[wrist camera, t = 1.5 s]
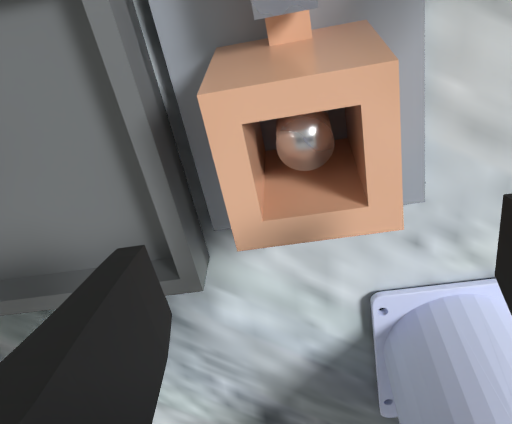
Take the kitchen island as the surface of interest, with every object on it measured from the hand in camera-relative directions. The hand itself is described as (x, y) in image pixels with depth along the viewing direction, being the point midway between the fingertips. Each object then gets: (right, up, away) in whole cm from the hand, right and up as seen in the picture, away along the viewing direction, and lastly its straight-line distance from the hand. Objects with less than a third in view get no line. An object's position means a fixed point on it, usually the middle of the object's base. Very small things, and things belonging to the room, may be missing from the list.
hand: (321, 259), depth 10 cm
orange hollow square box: (0, +6, +7) cm, 9 cm away
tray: (-11, +4, +10) cm, 15 cm away
